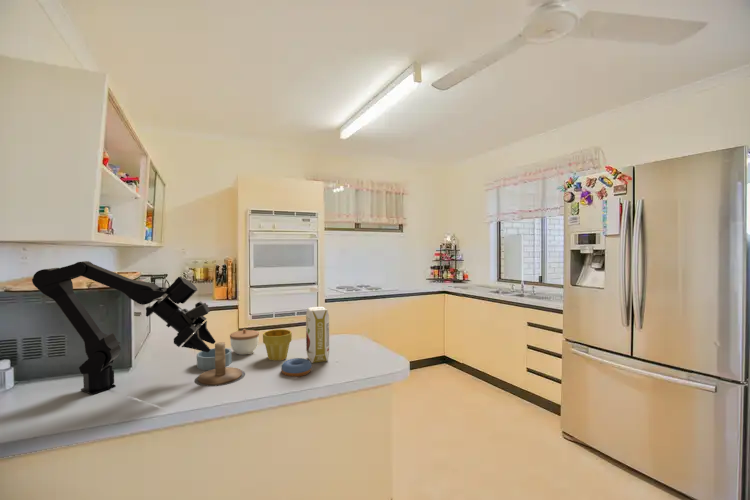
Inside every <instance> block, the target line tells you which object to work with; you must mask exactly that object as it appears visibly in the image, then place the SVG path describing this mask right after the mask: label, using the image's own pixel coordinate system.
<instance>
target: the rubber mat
mask: <svg viewBox="0 0 750 500" xmlns="http://www.w3.org/2000/svg"><path fill="white" fill-rule="evenodd" d="M240 370H241V369H240ZM241 371H242V376H241V377H240V378H239V379H237V380H235V381H232V382H229V383H225V384H219V385H205V384H201V383H199V382H198V377H199V375H198V376H196V377H195V379H194V383H195V384H196V385H198V386H201V387H210V388H211V387H221V386H225V385H227V386H228V385H231V384H233V383H237V382H239V381H240V380H242V379H244V377H245V376H246V372H245V371H243V370H241Z"/></svg>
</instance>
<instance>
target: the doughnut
mask: <svg viewBox="0 0 750 500" xmlns="http://www.w3.org/2000/svg"><path fill="white" fill-rule="evenodd" d="M280 368H281V373H282V375H284V376H287V377H297V378H299V377H303V376H306V375H308V374H309V373H310V372H311V371H312V368H313V367H312V363H311V361H310V359H307V358H303V357H300V358H299V357H296V358H295V357H294V358H290V359H288V360H287V359H286V360H284V362H283V363H282V365H281V367H280Z"/></svg>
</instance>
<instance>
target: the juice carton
mask: <svg viewBox="0 0 750 500" xmlns="http://www.w3.org/2000/svg"><path fill="white" fill-rule="evenodd" d="M306 308H307V309H306V314H305V329H306V330H305V338H306V339H305V341H306V343H305V346H306V349H305V351H306V355H307V358H308V360H309V361H310V362H311V364H315V363H316V364H317V363H321V362H322V363H323V362H327V361H329V357H330V315H329V309H327V308H325V307H324V306H311V307H306Z"/></svg>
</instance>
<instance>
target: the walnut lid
mask: <svg viewBox="0 0 750 500" xmlns="http://www.w3.org/2000/svg"><path fill="white" fill-rule="evenodd" d="M214 348H215V369H212V370H205V371H204V372H202V373H200V374H199V375H198V376H199V377H198V376H197V377H198V382H199V383H201V384H205V385H219V384H225V383H229V382H232V381H235V380H237V379H239V378H240V377H241V376H242V371H243V370H242V371H241V368H238V367H233V366H232V367H231V366H230V367H229V366H226V367H225V348H226V342H223V341H222V342H215V343H214Z"/></svg>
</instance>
